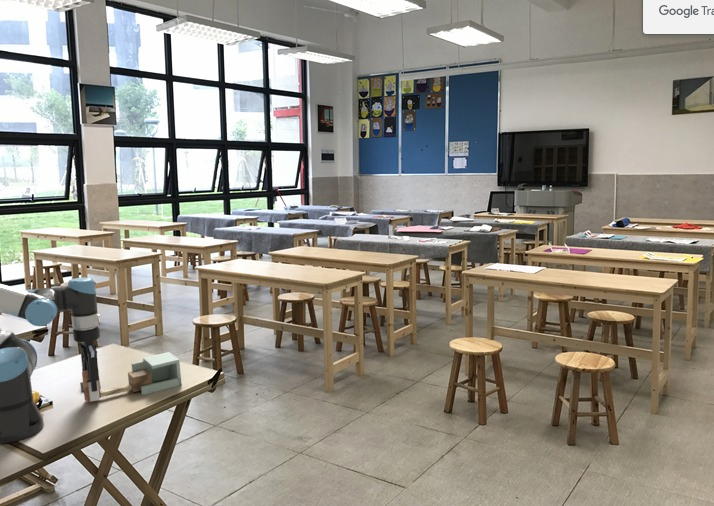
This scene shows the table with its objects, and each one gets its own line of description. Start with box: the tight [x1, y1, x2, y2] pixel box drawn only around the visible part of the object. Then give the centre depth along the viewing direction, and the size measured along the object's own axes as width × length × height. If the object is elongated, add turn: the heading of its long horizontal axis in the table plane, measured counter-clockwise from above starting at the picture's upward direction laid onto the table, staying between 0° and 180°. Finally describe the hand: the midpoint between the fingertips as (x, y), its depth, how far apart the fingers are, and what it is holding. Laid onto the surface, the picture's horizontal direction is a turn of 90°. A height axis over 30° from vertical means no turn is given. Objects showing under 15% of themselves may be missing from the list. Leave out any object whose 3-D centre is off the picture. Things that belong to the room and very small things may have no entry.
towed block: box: [81, 369, 153, 402], centre depth 196 cm, size 20×6×9 cm, turn 125°
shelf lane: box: [130, 351, 182, 396], centre depth 203 cm, size 13×10×9 cm
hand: (92, 397), depth 192 cm, fingers closed on towed block, 5 cm apart
